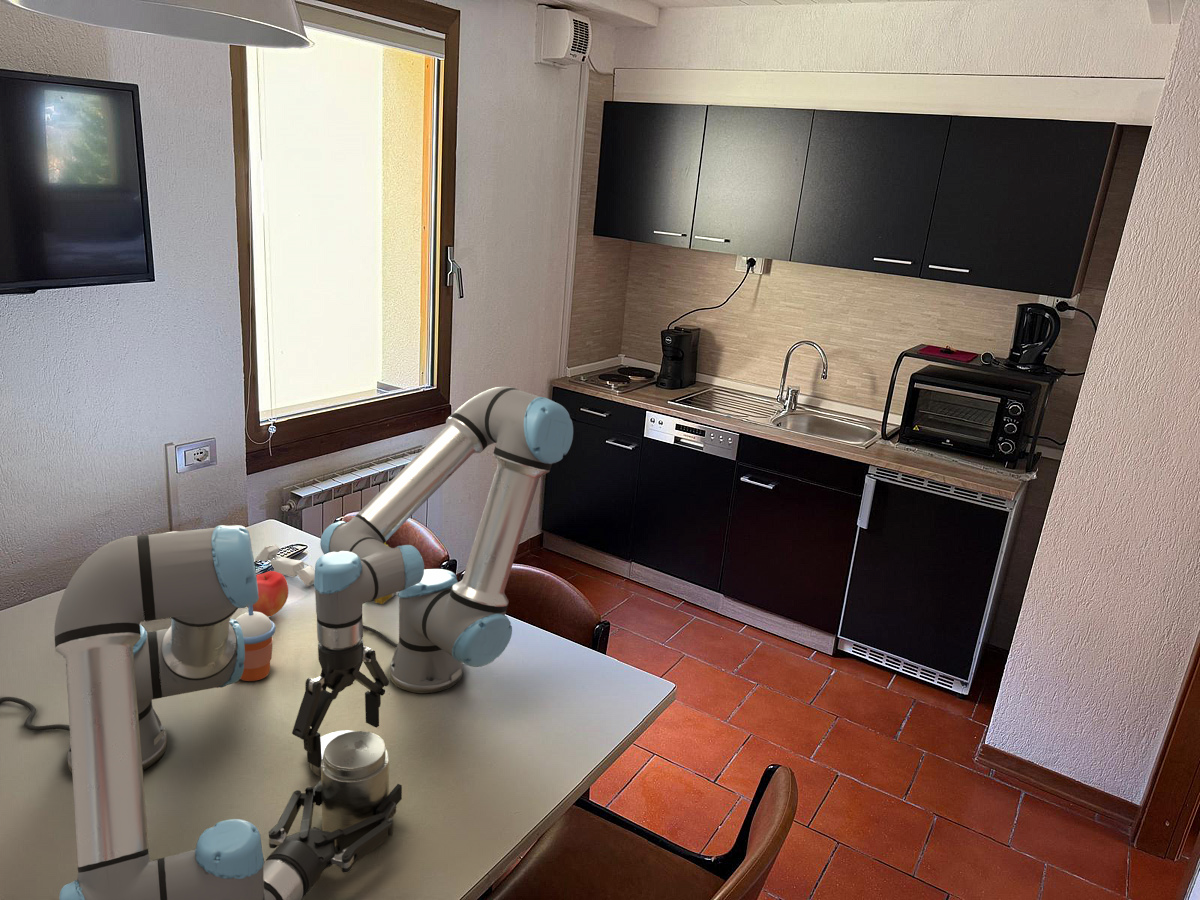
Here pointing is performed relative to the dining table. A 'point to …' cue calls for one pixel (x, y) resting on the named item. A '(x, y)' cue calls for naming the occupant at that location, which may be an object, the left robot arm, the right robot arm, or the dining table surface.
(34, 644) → the dining table surface
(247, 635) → the cup with straw
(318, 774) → the lid
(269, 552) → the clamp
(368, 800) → the jar
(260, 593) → the apple
